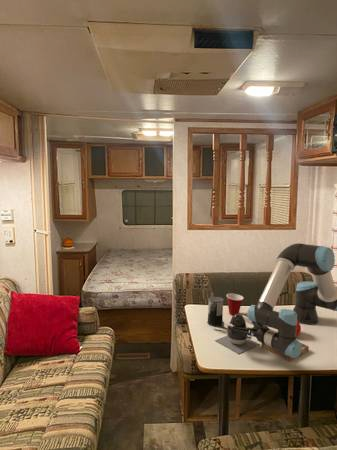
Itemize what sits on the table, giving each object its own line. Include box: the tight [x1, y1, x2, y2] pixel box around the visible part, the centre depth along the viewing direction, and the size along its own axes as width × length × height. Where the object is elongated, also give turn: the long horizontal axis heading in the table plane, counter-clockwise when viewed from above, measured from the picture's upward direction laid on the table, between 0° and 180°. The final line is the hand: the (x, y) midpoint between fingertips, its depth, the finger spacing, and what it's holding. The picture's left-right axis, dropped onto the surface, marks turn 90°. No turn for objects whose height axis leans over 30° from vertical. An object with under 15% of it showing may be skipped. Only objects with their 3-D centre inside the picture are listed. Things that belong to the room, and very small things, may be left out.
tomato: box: [296, 320, 302, 336], centre depth 174 cm, size 11×11×9 cm
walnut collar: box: [261, 342, 310, 362], centre depth 158 cm, size 16×16×2 cm
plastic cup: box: [226, 293, 244, 317], centre depth 199 cm, size 11×11×12 cm
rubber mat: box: [214, 335, 260, 355], centre depth 163 cm, size 16×16×1 cm
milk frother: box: [207, 296, 224, 327], centre depth 183 cm, size 14×16×15 cm
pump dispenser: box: [226, 313, 248, 345], centre depth 162 cm, size 10×10×15 cm
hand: (233, 320), depth 164 cm, fingers open, 13 cm apart
